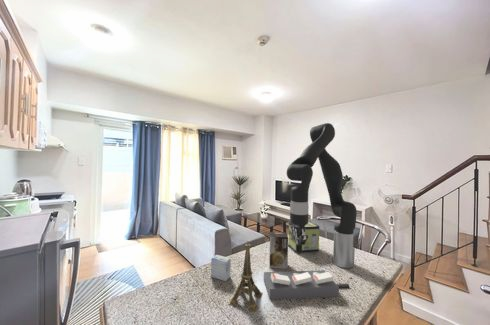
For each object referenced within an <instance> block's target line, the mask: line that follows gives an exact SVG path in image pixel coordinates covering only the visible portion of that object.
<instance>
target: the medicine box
mask: <svg viewBox="0 0 490 325" xmlns="http://www.w3.org/2000/svg"><path fill="white" fill-rule="evenodd" d="M231 260H232V258H230V257H227V256H223V255H219V254H215V255H214V256H212V258H211V260H210V261H211V262H210V264H211V266H210V267H211V268H210V277H211V278H212V279H213V278H214V279H217V280H220V281H223V282H227V281H228V280H229V279H230V278H231V269H232V268H231Z"/></svg>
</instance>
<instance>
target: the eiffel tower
mask: <svg viewBox="0 0 490 325" xmlns="http://www.w3.org/2000/svg"><path fill="white" fill-rule="evenodd" d="M251 248H252V246H251V244H250V243H249V242H247V243H245V246H244V249H245V252H244V255H245V256H244V262H243V268H242V273H241V275H240V277H241V280H240V283H239V284H238V286H237V287H236V289H235V291H234V292H235V293H234V296H233V297H232V298H231V299H230V300H229V302H228V304H229V303H230V305H229V306H231V305H234V306H233V307H236V306H237V303H239V302H238V298H239V297H240V296H241V294H246V295H248V298H249V299H248V301H249V306H248V311H251V312H255V313H256V312H257V310H258V308H259V305H258V304H257V303H256V300H255V298H254V297H257V298H262V296H263V292H261V290H260V289H259V288H258V286H257V285H256V284H255V283H256V281H254V279H253V274H254V273H253V272H254V271H253V270H252V265H251V251H250V249H251ZM253 295H254V296H253Z"/></svg>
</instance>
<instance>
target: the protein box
mask: <svg viewBox="0 0 490 325" xmlns="http://www.w3.org/2000/svg"><path fill="white" fill-rule="evenodd" d="M291 226H293V224H292V223H291V222H290V221H289V222H288V248H290V249H291V250H292V251H293V252H294V253H295V254H298V253H297V252H296V243H295V240H294V239H293V234H292V230H291ZM305 235H308V239H307V241H306V243H305V245H302V253H301V254H304V253H317V252H319V251H320V250H319V249H320V225H318V224H316V223H315V222H312V221H311V220H308V224H307V225H305Z"/></svg>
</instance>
